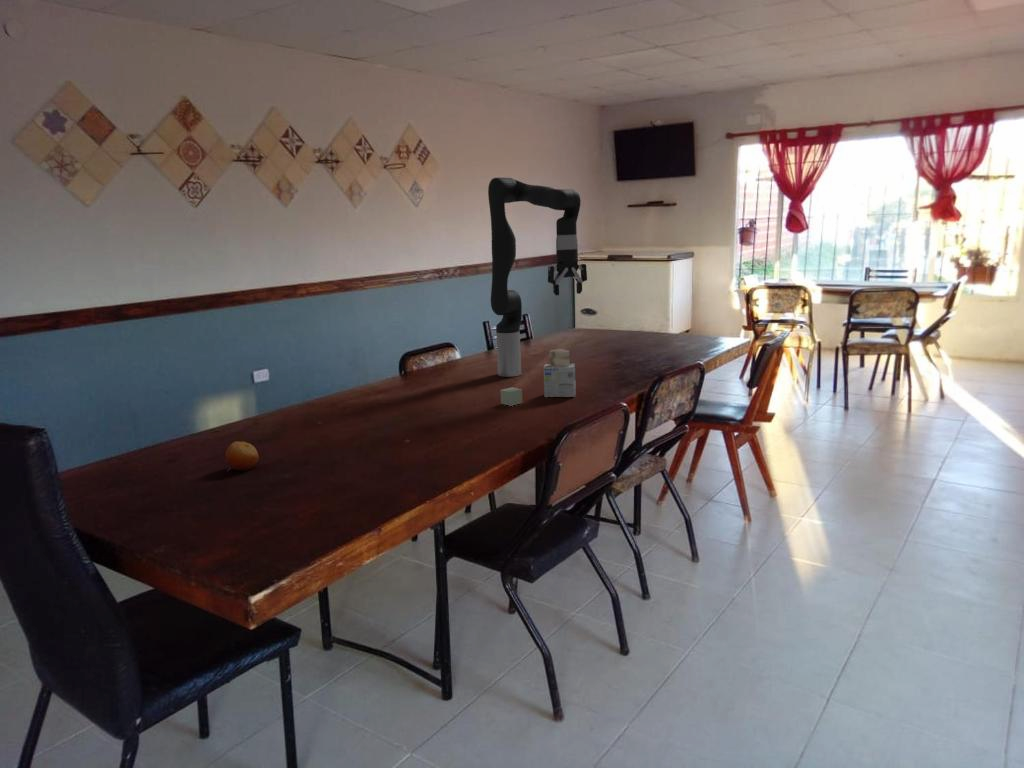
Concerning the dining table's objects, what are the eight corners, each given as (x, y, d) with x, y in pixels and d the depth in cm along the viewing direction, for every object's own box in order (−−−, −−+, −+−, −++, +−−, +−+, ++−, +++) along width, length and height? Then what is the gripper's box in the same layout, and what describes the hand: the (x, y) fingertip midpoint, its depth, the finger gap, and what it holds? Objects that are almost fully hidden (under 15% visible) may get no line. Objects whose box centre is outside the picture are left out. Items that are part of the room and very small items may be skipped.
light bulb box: (575, 393, 258) (575, 363, 256) (575, 398, 251) (574, 366, 249) (545, 394, 259) (544, 363, 257) (543, 398, 252) (542, 367, 250)
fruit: (226, 458, 193) (239, 433, 191) (253, 473, 193) (266, 447, 192) (213, 468, 185) (226, 442, 183) (241, 483, 185) (255, 457, 184)
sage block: (501, 404, 246) (500, 389, 245) (512, 401, 249) (511, 387, 248) (510, 407, 242) (510, 392, 241) (522, 404, 246) (521, 389, 244)
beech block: (550, 364, 254) (549, 350, 253) (563, 363, 256) (562, 349, 255) (556, 367, 250) (555, 352, 249) (569, 365, 251) (569, 351, 250)
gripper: (580, 247, 266) (581, 292, 269) (543, 248, 261) (545, 295, 264) (589, 247, 259) (590, 293, 263) (552, 249, 254) (554, 296, 258)
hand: (567, 294), depth 264 cm, fingers open, 8 cm apart
